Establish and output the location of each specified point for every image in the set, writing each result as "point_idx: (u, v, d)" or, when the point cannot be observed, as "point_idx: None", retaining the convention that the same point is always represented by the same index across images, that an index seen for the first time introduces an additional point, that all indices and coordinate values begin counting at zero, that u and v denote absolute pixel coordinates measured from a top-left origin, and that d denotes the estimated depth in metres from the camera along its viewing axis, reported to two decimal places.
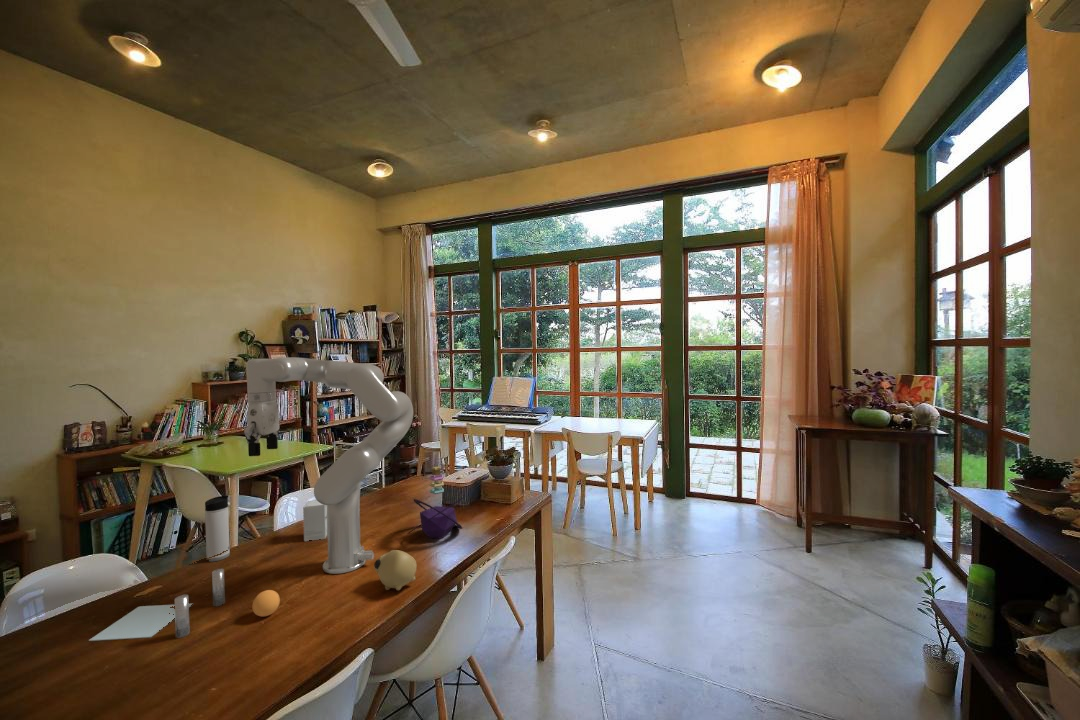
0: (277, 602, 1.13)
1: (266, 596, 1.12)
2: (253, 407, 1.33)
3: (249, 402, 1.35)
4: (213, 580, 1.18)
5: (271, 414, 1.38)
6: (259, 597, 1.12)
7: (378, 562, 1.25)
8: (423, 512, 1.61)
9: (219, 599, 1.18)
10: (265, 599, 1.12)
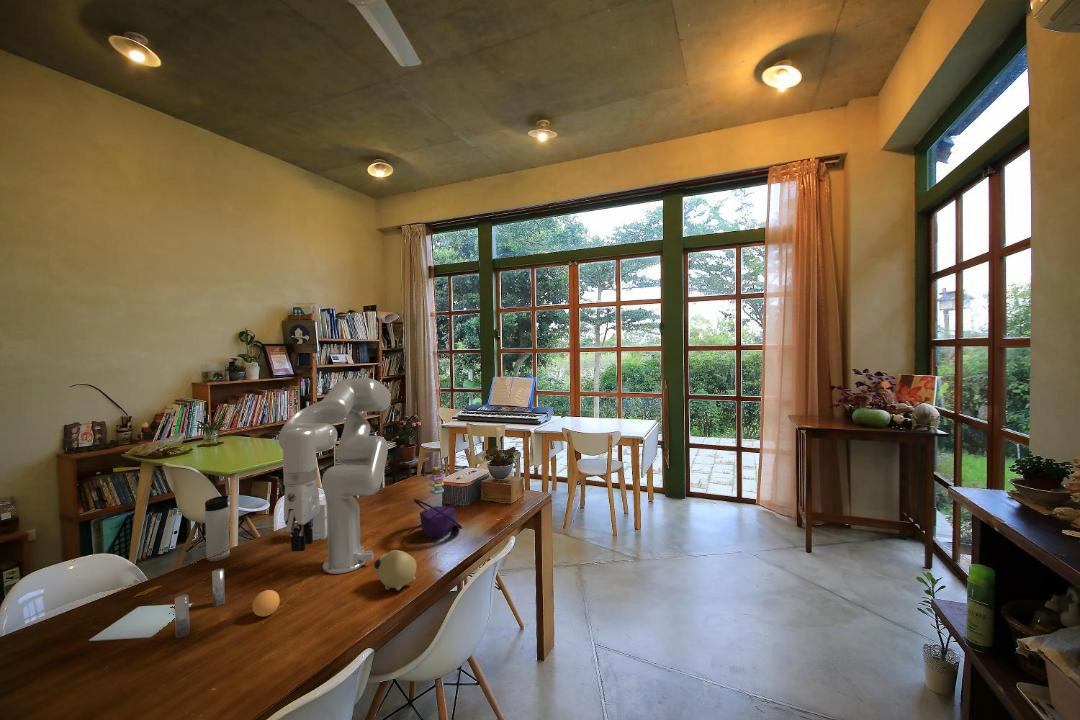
0: (277, 602, 1.13)
1: (266, 596, 1.12)
2: (291, 491, 1.09)
3: (286, 484, 1.10)
4: (213, 580, 1.18)
5: (311, 496, 1.14)
6: (259, 597, 1.12)
7: (378, 562, 1.25)
8: (423, 512, 1.61)
9: (219, 599, 1.18)
10: (265, 599, 1.12)
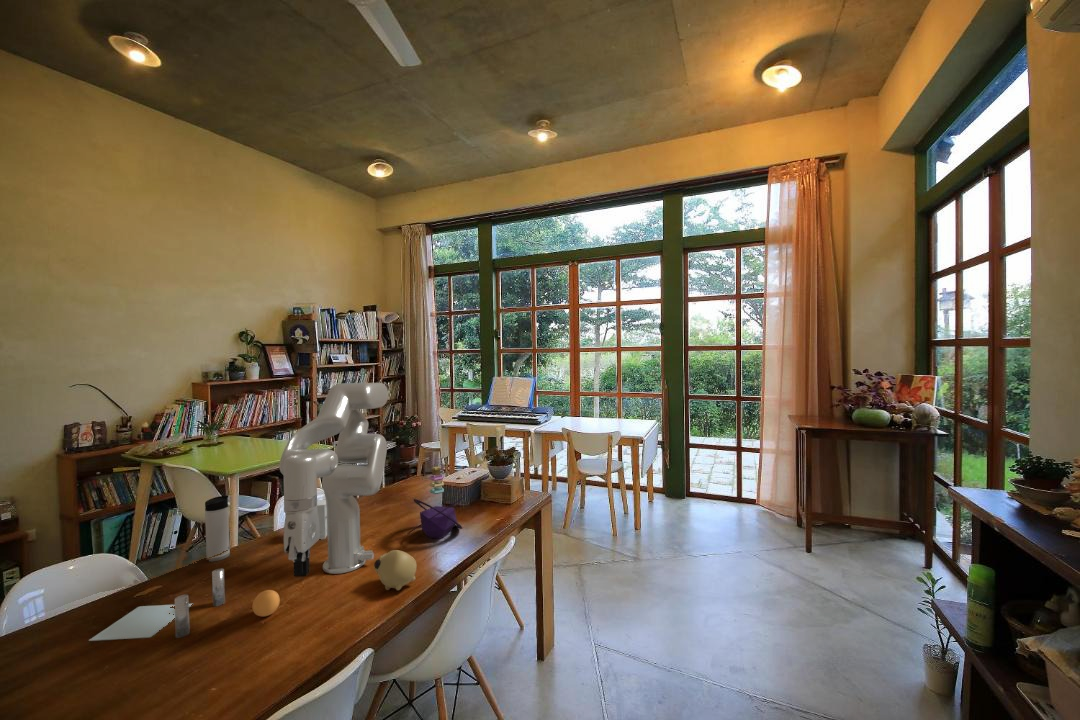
0: (277, 602, 1.13)
1: (266, 596, 1.12)
2: (291, 519, 1.09)
3: (286, 511, 1.10)
4: (213, 580, 1.18)
5: (311, 523, 1.13)
6: (259, 597, 1.12)
7: (378, 562, 1.25)
8: (423, 512, 1.61)
9: (219, 599, 1.18)
10: (265, 599, 1.12)
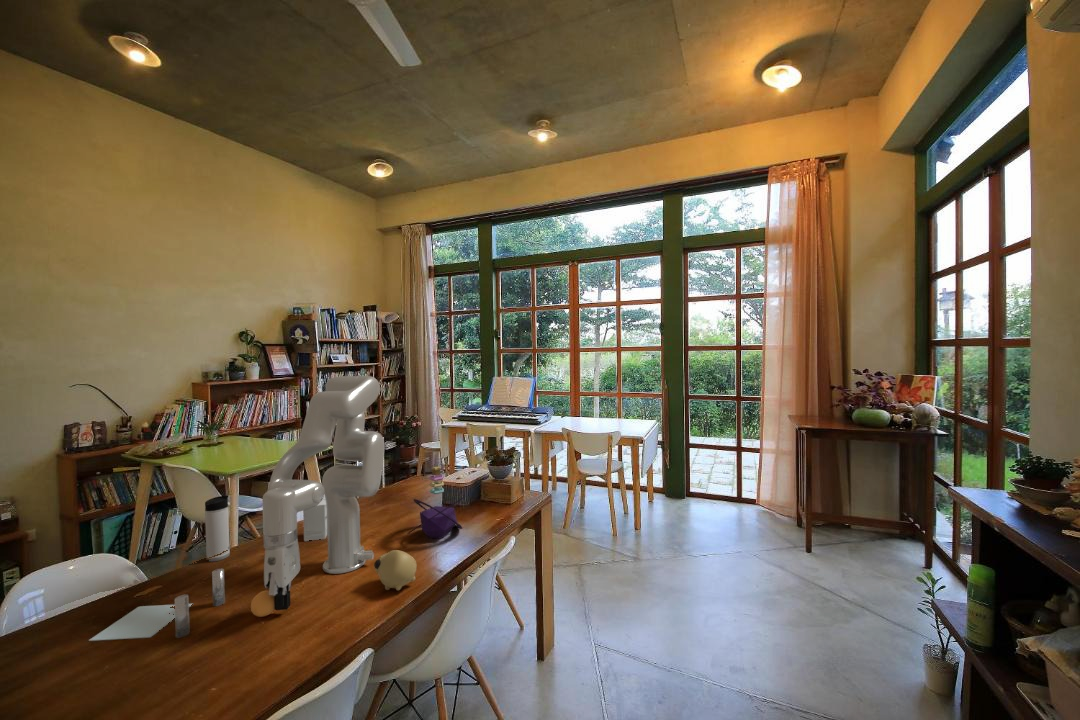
0: None
1: (264, 596, 1.12)
2: (271, 554, 1.09)
3: (266, 547, 1.10)
4: (213, 580, 1.18)
5: (292, 557, 1.14)
6: (257, 598, 1.12)
7: (378, 562, 1.25)
8: (423, 512, 1.61)
9: (219, 599, 1.18)
10: (263, 599, 1.12)
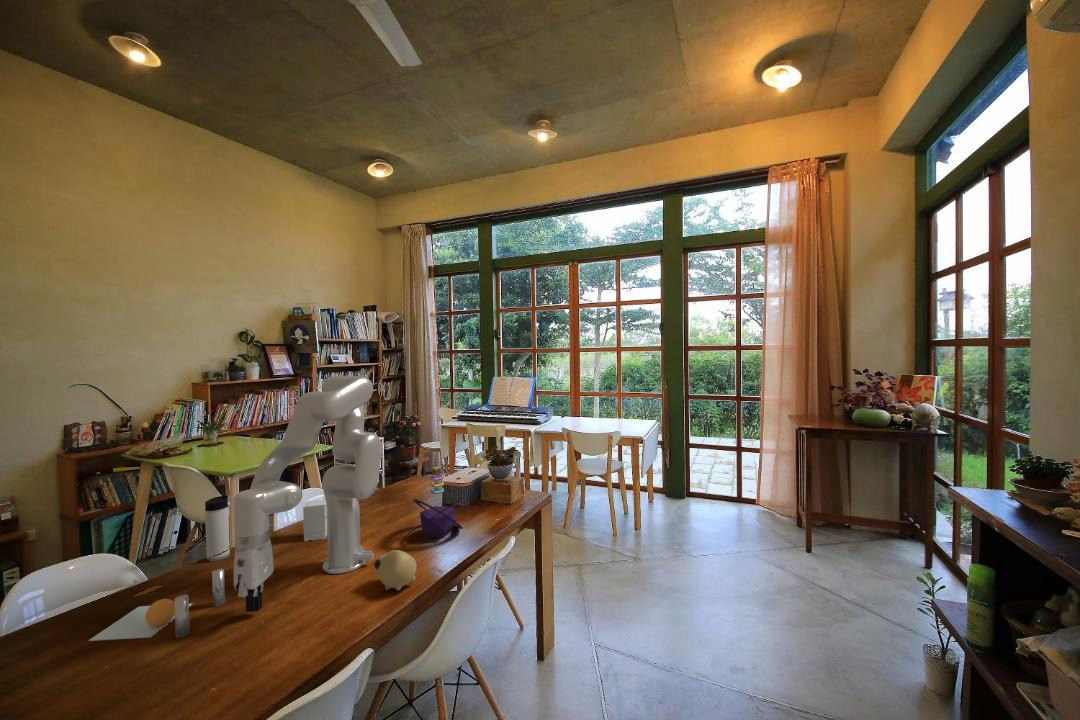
0: (158, 602, 1.10)
1: None
2: (241, 556, 1.09)
3: (236, 548, 1.10)
4: (213, 580, 1.18)
5: (263, 559, 1.13)
6: None
7: (378, 562, 1.25)
8: (423, 512, 1.61)
9: (219, 599, 1.18)
10: (145, 615, 1.08)
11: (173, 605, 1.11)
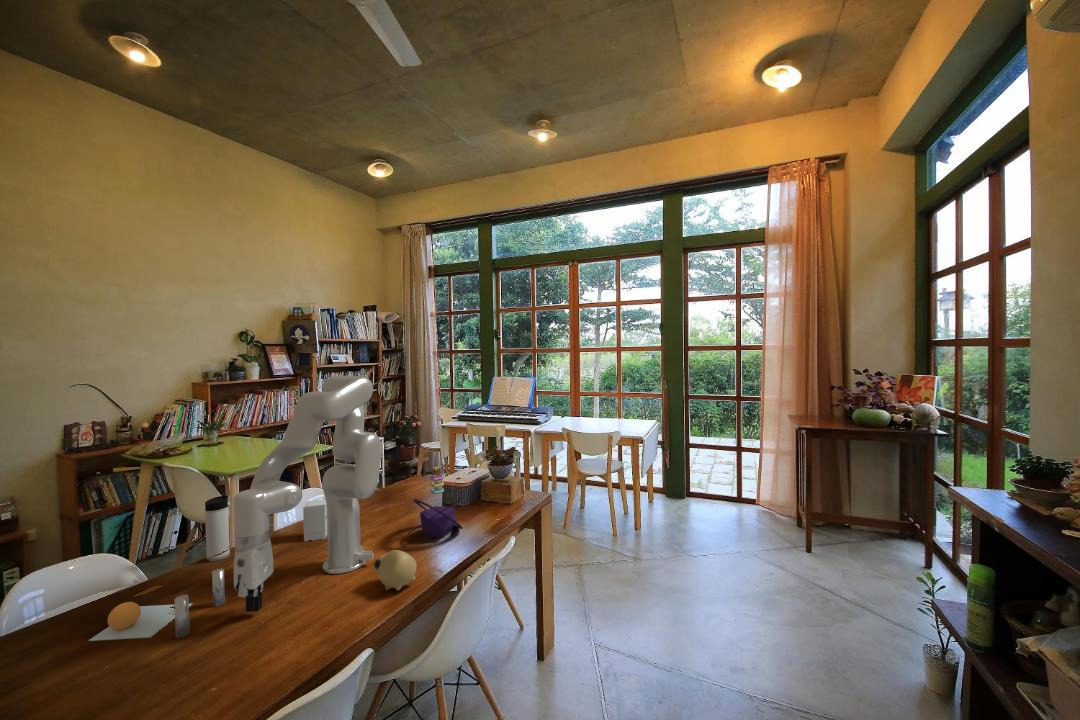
0: None
1: (129, 624, 1.08)
2: (241, 556, 1.09)
3: (236, 548, 1.10)
4: (213, 580, 1.18)
5: (263, 559, 1.13)
6: (130, 618, 1.08)
7: (378, 562, 1.25)
8: (423, 512, 1.61)
9: (219, 599, 1.18)
10: (125, 625, 1.08)
11: None
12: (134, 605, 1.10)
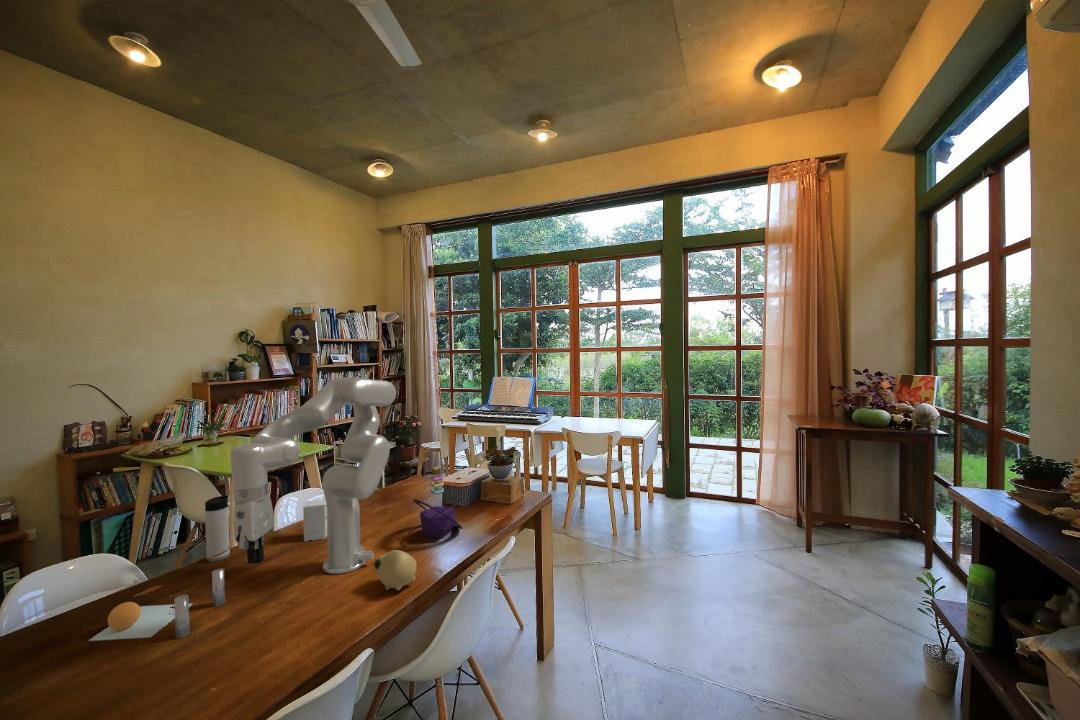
0: None
1: (129, 624, 1.08)
2: (240, 508, 1.09)
3: (235, 501, 1.10)
4: (213, 580, 1.18)
5: (263, 512, 1.13)
6: (130, 618, 1.08)
7: (378, 562, 1.25)
8: (423, 512, 1.61)
9: (219, 599, 1.18)
10: (125, 625, 1.08)
11: None
12: (134, 605, 1.10)
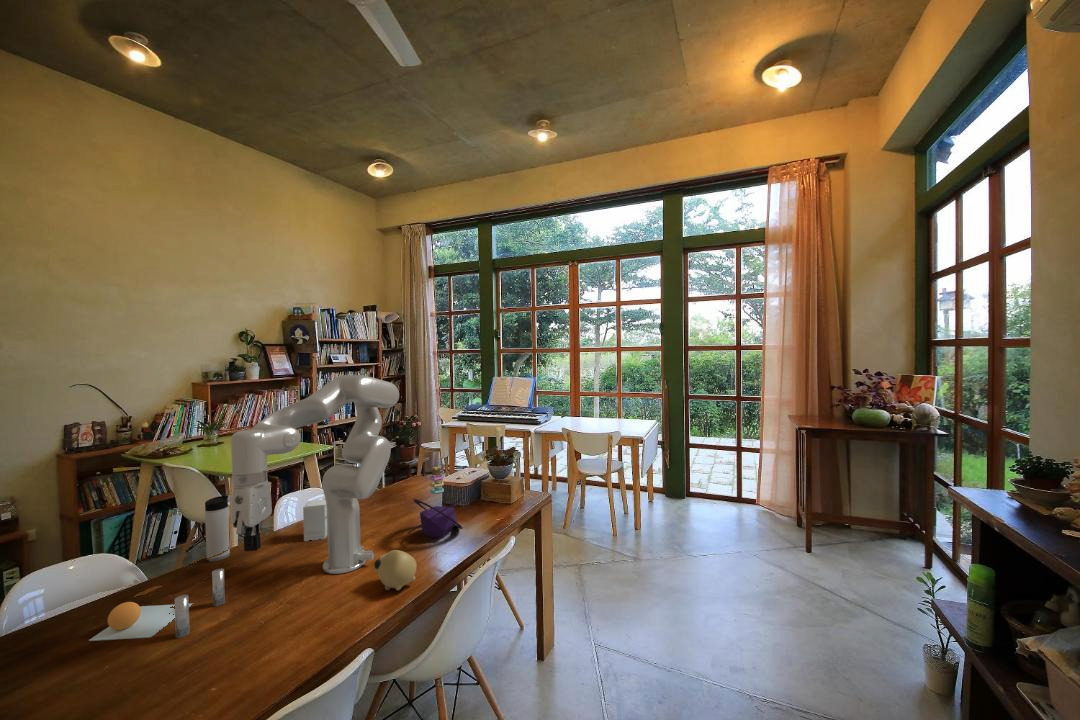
0: None
1: (129, 624, 1.08)
2: (239, 493, 1.08)
3: (234, 486, 1.10)
4: (213, 580, 1.18)
5: (261, 498, 1.13)
6: (130, 618, 1.08)
7: (378, 562, 1.25)
8: (423, 512, 1.61)
9: (219, 599, 1.18)
10: (125, 625, 1.08)
11: None
12: (134, 605, 1.10)
